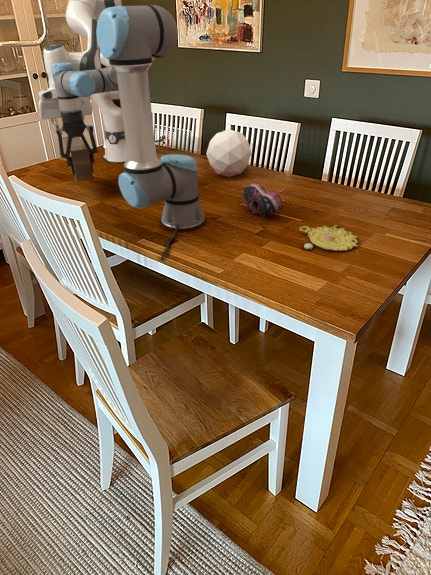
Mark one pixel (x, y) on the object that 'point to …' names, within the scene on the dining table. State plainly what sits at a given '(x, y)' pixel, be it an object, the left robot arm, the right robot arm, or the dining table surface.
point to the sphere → (229, 153)
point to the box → (79, 159)
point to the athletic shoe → (261, 200)
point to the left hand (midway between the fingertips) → (69, 128)
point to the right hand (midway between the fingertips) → (82, 172)
